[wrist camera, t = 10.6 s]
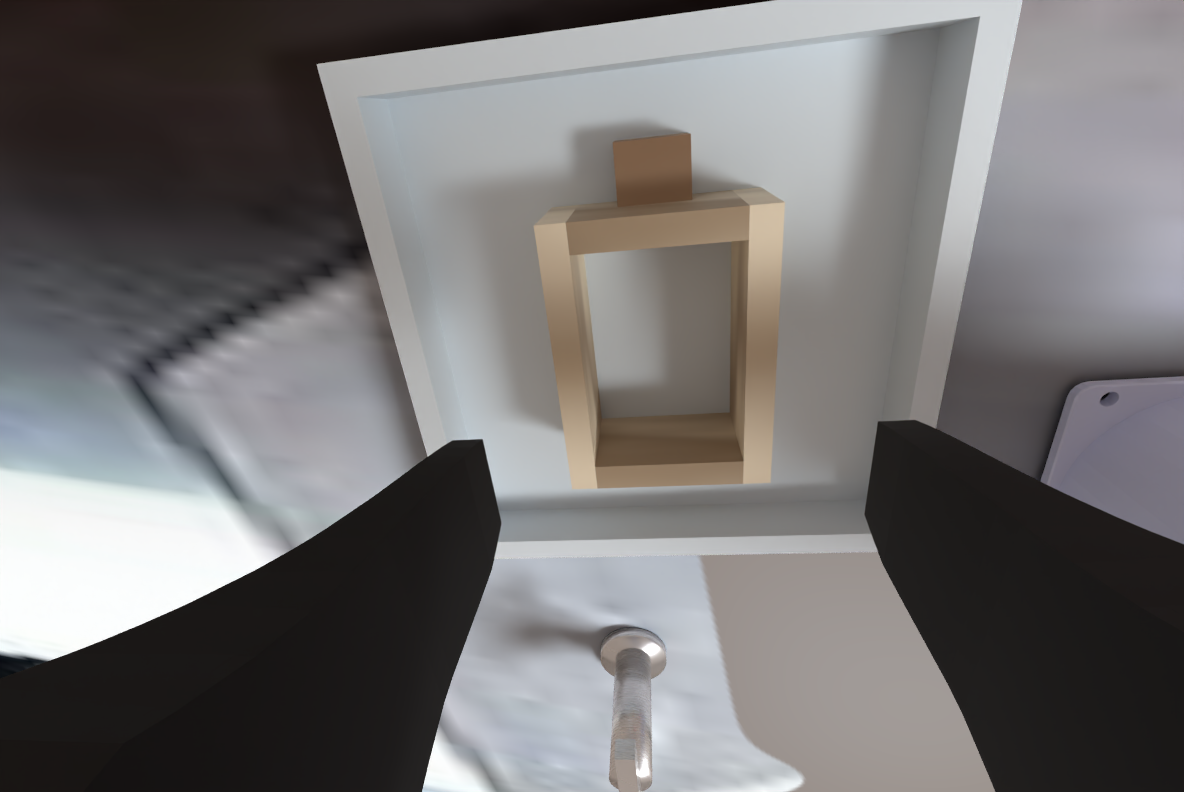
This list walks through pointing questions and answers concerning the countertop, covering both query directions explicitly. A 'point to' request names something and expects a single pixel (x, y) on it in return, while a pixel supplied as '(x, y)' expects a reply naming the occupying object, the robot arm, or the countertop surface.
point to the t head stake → (632, 704)
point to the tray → (682, 273)
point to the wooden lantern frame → (755, 229)
